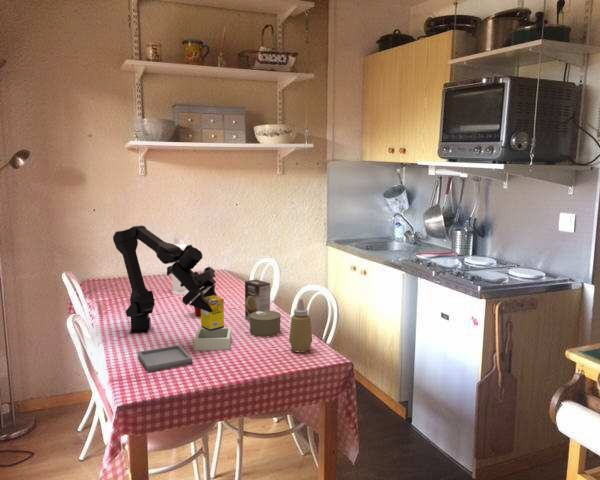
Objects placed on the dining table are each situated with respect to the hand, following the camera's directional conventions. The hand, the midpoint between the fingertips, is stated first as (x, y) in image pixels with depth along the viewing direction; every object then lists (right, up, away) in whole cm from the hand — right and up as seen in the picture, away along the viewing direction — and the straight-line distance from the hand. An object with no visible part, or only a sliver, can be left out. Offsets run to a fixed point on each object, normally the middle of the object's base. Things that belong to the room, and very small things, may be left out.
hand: (216, 308), depth 183 cm
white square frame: (-1, -13, +2) cm, 13 cm away
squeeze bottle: (+30, -14, -3) cm, 33 cm away
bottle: (-29, -2, +74) cm, 79 cm away
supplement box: (-1, -7, +1) cm, 8 cm away
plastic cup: (-11, -8, +37) cm, 40 cm away
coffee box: (+12, -9, +30) cm, 34 cm away
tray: (-15, -15, -13) cm, 25 cm away
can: (+16, -11, +16) cm, 25 cm away
